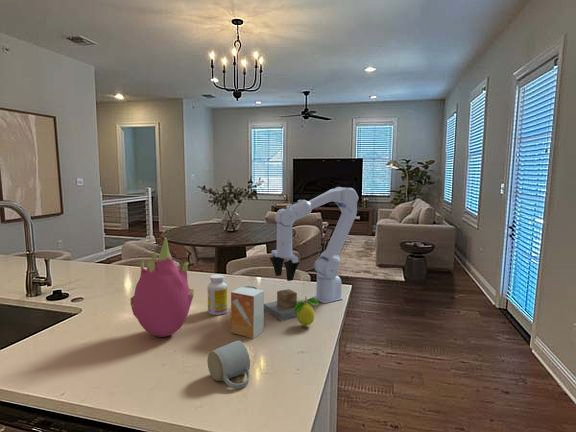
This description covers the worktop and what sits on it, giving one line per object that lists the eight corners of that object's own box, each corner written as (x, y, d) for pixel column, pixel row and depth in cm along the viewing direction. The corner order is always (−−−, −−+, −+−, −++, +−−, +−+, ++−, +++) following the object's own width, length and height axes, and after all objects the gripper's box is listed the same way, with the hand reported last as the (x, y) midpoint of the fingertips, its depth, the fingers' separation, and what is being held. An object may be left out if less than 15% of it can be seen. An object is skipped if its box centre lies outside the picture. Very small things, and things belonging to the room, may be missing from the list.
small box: (230, 333, 114) (230, 291, 112) (241, 325, 119) (241, 286, 118) (253, 338, 110) (253, 295, 109) (264, 330, 116) (264, 289, 114)
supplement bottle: (231, 310, 133) (230, 275, 131) (220, 317, 127) (219, 279, 125) (215, 307, 136) (215, 272, 134) (203, 313, 130) (203, 277, 128)
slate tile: (291, 303, 141) (291, 298, 141) (310, 313, 131) (310, 307, 131) (263, 309, 135) (263, 303, 134) (281, 320, 125) (281, 314, 124)
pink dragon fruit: (195, 324, 120) (194, 231, 117) (192, 343, 107) (190, 239, 104) (137, 327, 117) (134, 232, 114) (126, 347, 104) (122, 240, 101)
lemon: (318, 324, 122) (318, 294, 121) (313, 331, 116) (314, 300, 115) (298, 321, 124) (299, 292, 123) (292, 328, 119) (293, 297, 117)
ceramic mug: (205, 374, 91) (205, 344, 90) (234, 364, 96) (234, 335, 95) (228, 396, 83) (228, 363, 82) (258, 383, 88) (259, 352, 87)
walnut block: (288, 302, 136) (289, 289, 135) (296, 306, 132) (296, 293, 131) (277, 305, 133) (277, 291, 133) (284, 309, 129) (284, 295, 129)
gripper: (264, 239, 141) (264, 275, 143) (286, 246, 130) (286, 284, 131) (280, 238, 145) (280, 272, 147) (303, 244, 134) (302, 281, 135)
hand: (284, 278), depth 139 cm, fingers open, 7 cm apart
